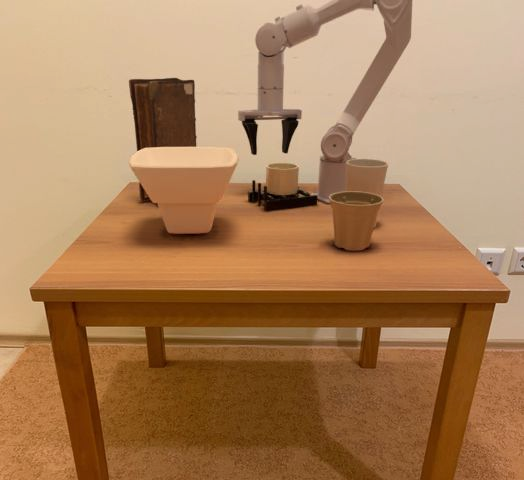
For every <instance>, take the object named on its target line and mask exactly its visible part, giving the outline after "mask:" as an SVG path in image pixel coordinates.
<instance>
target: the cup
mask: <svg viewBox="0 0 524 480" xmlns="http://www.w3.org/2000/svg"><path fill="white" fill-rule="evenodd" d="M388 167H389V162H387V161H384V160H381V159H374V158H356V159H352V160H348V161H346V191H360V192H369V193H373V194H377V195H379V196H381V197H383V191H384V186H385V181H386V177H387V171H388ZM378 215H379V211H378V212H377V216H376V220H375V224H374V228H376V227H377V224H378V223H377V221H378V217H379V216H378Z"/></svg>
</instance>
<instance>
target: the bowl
mask: <svg viewBox="0 0 524 480" xmlns="http://www.w3.org/2000/svg"><path fill="white" fill-rule="evenodd" d="M238 163H239V155H238V153H237V152H236V151H235V150H234V149H233V148H231V147H224V146H223V147H222V146H196V147H152V148H143V149H141V150H139V151H137V150H136V152H135V153H133V154H132V155H131V156H130V158H129V161H128V164H129V167H130V169H131V171H132V172H133V174H134V176H135V178H137V181H138V183H141V185H142V187H143V188H144V190H145V191H146V193H147V194H148V196H149V198H150V199H149V200H150V201H151V202H152V203H153V204H157V207H158V209H159V213H160V215H161V218H162V221H163V224H164V227H165V229H166V231H167V233H169V234H173V235H174V234H176V235H187V234H189V235H192V234H194V235H196V234H197V235H198V234H208V233H210V231H211V230H212V228H213V224H214V220H215V214H216V210H217V205H218V203H219V202H220V201H221V200H222V199H223V197H224V195H225V193H226V190H227V188H228V186H229V184H230V181H231V179H232V177H233V175H234V172H235V170H236V168H237V166H238Z"/></svg>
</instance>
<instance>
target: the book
mask: <svg viewBox="0 0 524 480" xmlns="http://www.w3.org/2000/svg"><path fill="white" fill-rule="evenodd" d="M128 87H129V96H130V101H131V105H132V106H131V107H132V115H133V121H134V133H135V134H134V135H135V142H136V144H135V145H136V152H137V151H139V150H141V149H143V148H152V147H197V128H196V124H197V123H196V121H197V119H196V99H195V98H196V95H195V94H196V93H195V90H196V88H195V87H196V85H195V80H194V79H180V78H178V77H166V78H131V79H129V80H128ZM138 183H139V185H138V190H139V201H140V202H142V203H143V202H147V201H149V200H151V199H150V198H149V196H148V194H147V193H146V191H145V190H144V188H143V187H142V185H141V183H140V182H138Z"/></svg>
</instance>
